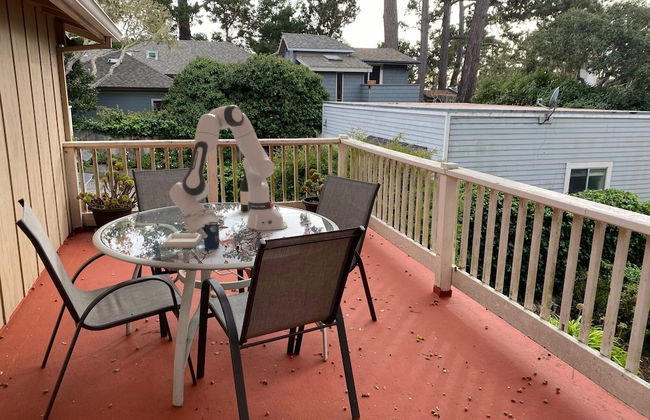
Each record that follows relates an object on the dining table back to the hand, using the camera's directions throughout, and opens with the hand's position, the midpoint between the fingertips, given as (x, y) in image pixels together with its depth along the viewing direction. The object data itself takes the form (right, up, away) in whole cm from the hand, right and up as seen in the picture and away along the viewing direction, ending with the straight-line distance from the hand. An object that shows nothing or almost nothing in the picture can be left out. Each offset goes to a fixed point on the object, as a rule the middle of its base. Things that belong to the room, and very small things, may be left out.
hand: (212, 235), depth 232 cm
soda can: (-1, -6, +2) cm, 7 cm away
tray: (-16, -5, +8) cm, 19 cm away
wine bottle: (+3, +12, +82) cm, 83 cm away
